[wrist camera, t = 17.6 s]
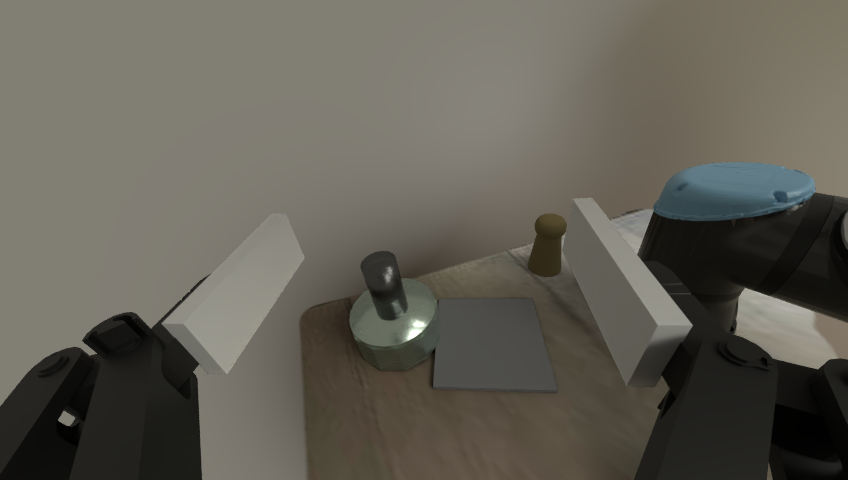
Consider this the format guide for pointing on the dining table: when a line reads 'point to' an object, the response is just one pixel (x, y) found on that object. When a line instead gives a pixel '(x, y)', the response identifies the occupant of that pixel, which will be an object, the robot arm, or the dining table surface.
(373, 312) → the cover
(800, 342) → the dining table surface
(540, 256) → the cork
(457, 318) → the mat
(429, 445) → the dining table surface
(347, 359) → the dining table surface
